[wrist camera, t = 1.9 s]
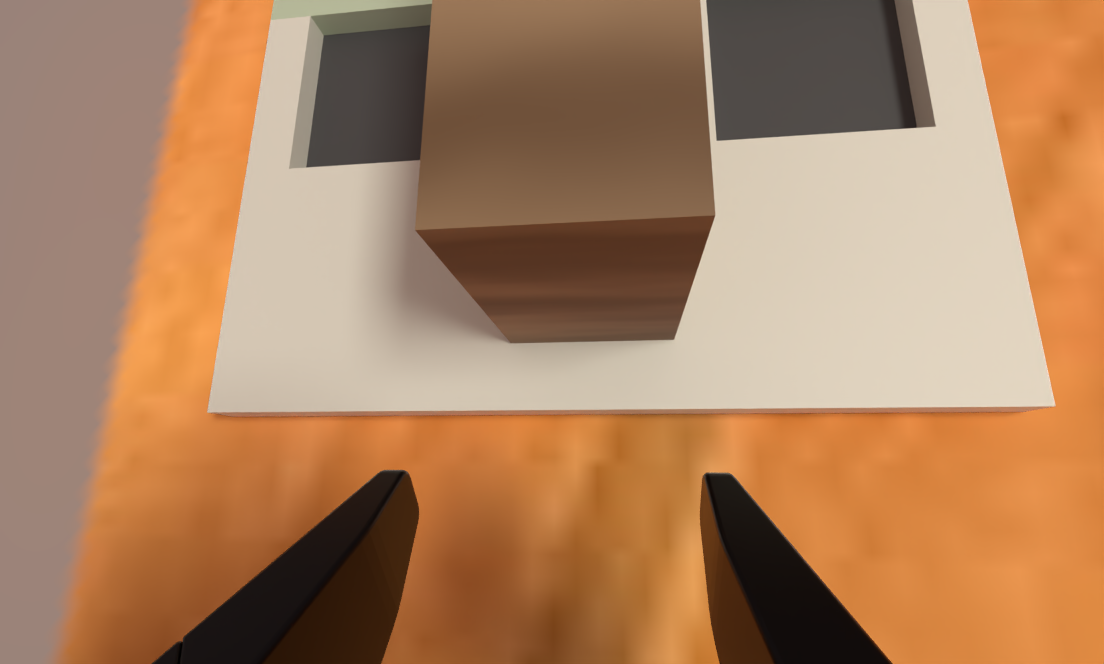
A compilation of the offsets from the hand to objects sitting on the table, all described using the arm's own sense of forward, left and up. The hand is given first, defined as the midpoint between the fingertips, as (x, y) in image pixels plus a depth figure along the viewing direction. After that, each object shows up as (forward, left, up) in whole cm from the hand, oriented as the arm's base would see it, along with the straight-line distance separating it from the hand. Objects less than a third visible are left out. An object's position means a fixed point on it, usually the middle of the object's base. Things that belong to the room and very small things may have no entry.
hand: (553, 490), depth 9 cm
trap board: (+5, +17, -13) cm, 22 cm away
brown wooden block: (+4, +12, -11) cm, 17 cm away
